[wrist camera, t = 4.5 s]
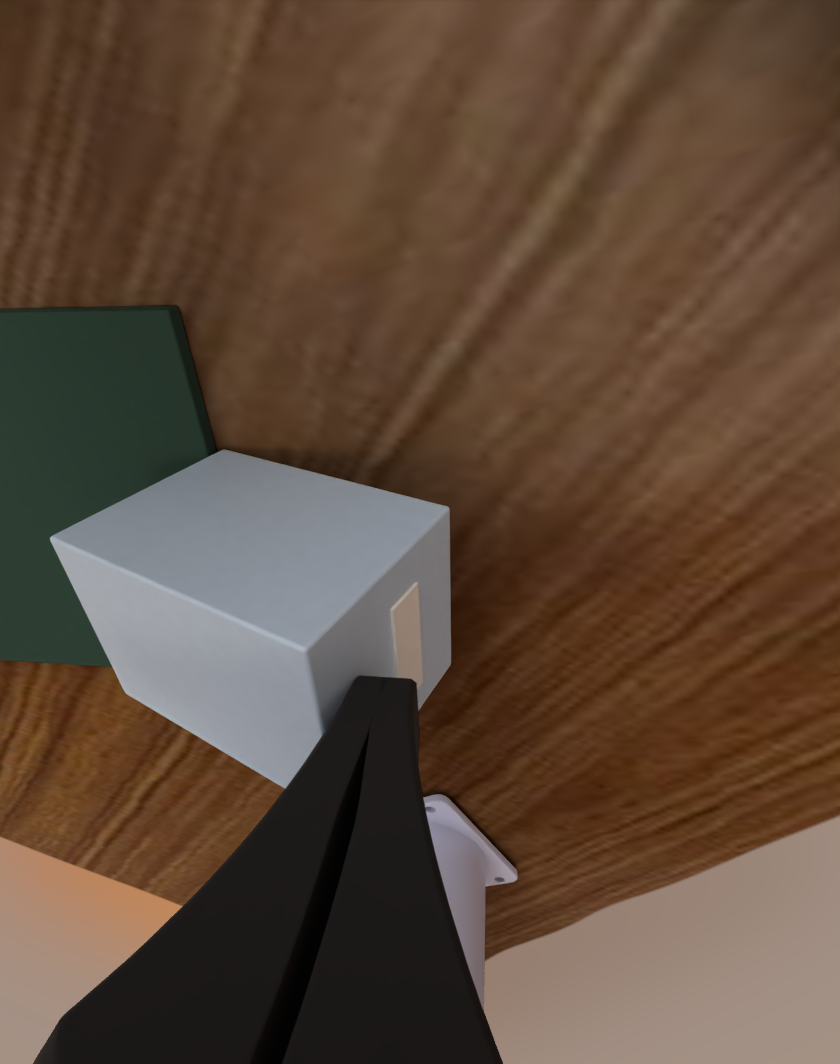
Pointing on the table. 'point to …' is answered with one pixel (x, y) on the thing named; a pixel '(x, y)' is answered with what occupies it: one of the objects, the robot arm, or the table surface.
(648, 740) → the table surface
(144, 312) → the rubber mat
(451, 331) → the table surface
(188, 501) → the grey block
